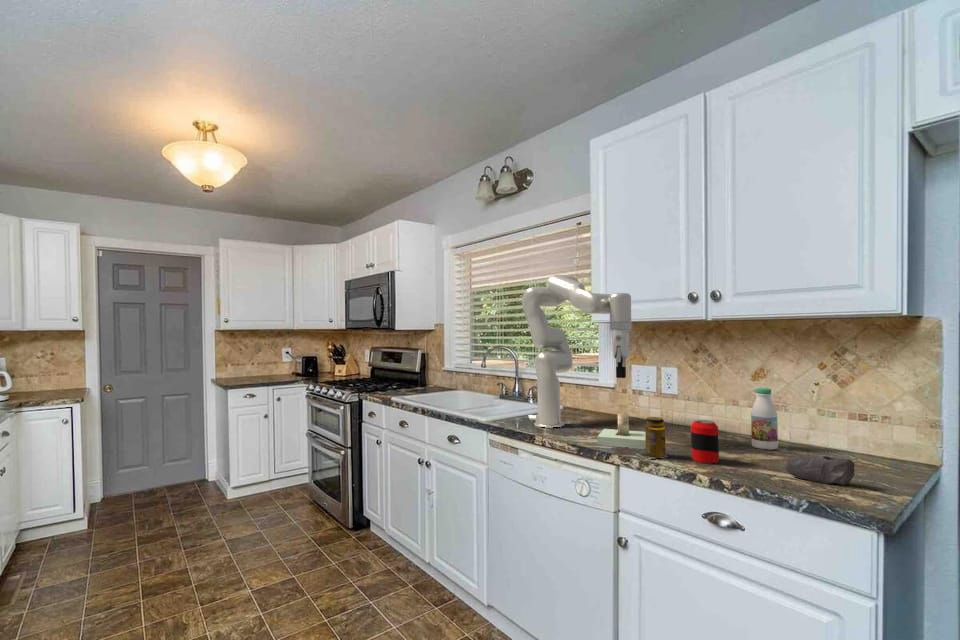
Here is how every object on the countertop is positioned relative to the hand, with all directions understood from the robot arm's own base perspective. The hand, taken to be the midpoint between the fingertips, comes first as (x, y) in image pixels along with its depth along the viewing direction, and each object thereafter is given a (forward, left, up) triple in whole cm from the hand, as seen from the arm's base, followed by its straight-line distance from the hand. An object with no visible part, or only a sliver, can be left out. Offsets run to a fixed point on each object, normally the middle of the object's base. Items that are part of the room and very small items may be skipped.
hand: (621, 377), depth 170 cm
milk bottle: (+46, +9, -23) cm, 52 cm away
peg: (+1, -1, -23) cm, 23 cm away
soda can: (+27, -16, -23) cm, 39 cm away
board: (+1, -1, -23) cm, 23 cm away
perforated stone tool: (+53, -27, -24) cm, 64 cm away
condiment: (+12, -16, -24) cm, 31 cm away
